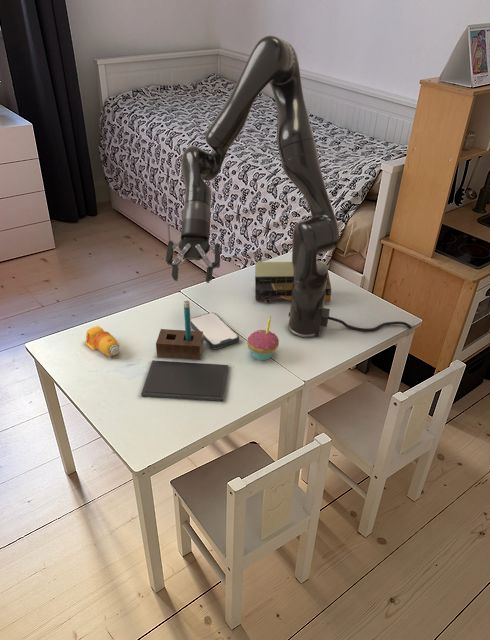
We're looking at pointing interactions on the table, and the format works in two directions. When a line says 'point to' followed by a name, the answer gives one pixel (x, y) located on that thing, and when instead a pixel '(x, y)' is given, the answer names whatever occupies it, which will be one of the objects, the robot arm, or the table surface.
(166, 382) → the tablet
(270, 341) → the cupcake
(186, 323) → the stylus
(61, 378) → the table surface
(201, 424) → the table surface
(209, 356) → the table surface
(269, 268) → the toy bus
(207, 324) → the smartphone
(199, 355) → the pen stand
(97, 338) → the toy figure
